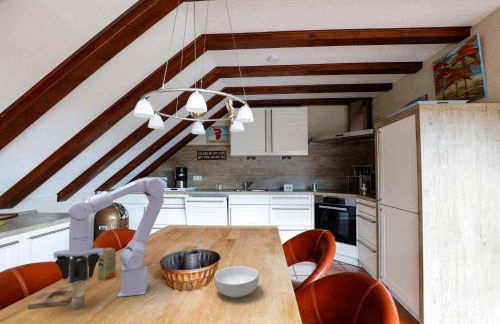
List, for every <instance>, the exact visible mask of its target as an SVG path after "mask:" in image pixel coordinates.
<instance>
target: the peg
mask: <svg viewBox="0 0 500 324" xmlns="http://www.w3.org/2000/svg"><path fill="white" fill-rule="evenodd" d="M71 285H72V286H71V287H72V301H71V309H72V310H78V309H81V308H84V307H85V304H86V303H85V301H86V300H85V299H86V298H85V295H86V294H85V293H86V280H84V281H83V280H81V281H76V282H74V283H71Z"/></svg>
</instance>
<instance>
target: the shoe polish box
mask: <svg viewBox="0 0 500 324" xmlns="http://www.w3.org/2000/svg"><path fill="white" fill-rule="evenodd" d="M116 253H117V249H116V248H115V247H110V246H108V247H105V248H104V247H103V254H102V255H100V257H99V259H98V261H97V279H98V280H102V281H104V282H105V281H107V280H110V279H113V278H115V277H116V272H117V271H116V270H117V268H116V264H117V263H116V262H117V261H116V260H117V258H116V257H117V255H116Z"/></svg>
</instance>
